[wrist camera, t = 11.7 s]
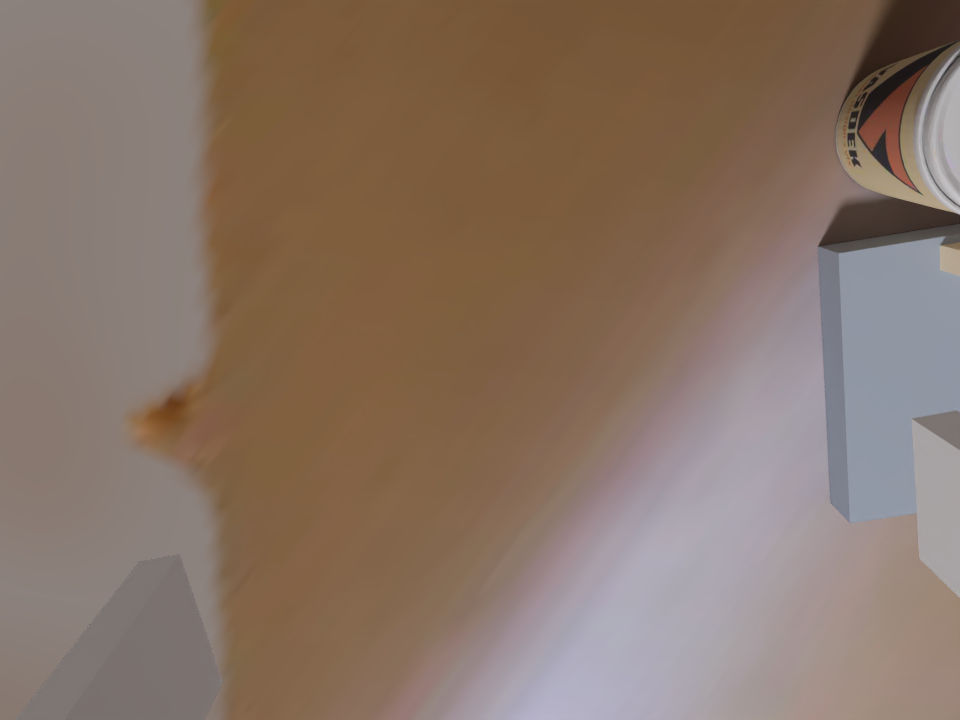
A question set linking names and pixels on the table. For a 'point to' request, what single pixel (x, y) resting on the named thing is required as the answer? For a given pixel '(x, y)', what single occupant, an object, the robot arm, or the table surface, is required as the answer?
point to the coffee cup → (906, 129)
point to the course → (886, 360)
